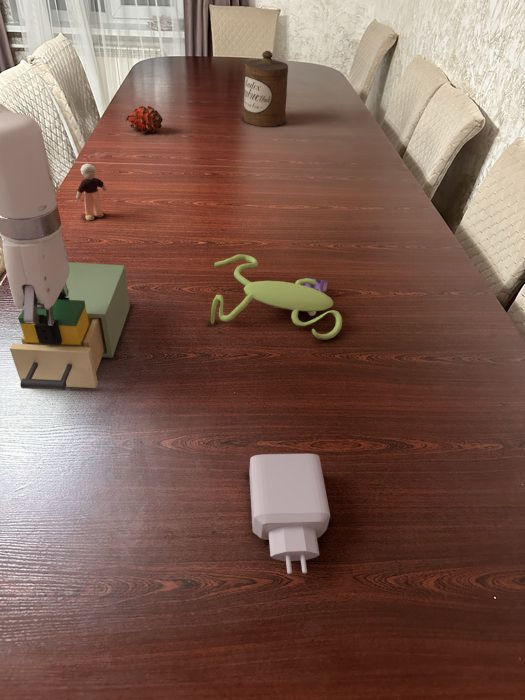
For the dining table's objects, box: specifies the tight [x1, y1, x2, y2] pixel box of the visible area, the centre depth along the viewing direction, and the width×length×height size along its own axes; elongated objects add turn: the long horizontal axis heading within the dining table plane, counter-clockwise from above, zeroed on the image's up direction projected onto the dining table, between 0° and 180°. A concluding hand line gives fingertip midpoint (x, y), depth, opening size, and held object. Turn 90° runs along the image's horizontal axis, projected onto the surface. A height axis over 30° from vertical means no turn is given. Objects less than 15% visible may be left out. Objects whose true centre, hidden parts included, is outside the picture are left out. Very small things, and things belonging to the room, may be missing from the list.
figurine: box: [210, 253, 343, 341], centre depth 100 cm, size 18×27×6 cm
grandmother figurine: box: [75, 162, 107, 221], centre depth 121 cm, size 8×4×13 cm, turn 147°
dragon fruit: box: [125, 105, 164, 134], centre depth 169 cm, size 8×8×12 cm
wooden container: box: [243, 50, 289, 127], centre depth 181 cm, size 15×15×22 cm
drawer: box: [9, 317, 106, 391], centre depth 81 cm, size 18×11×7 cm, turn 0°
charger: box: [248, 453, 331, 575], centre depth 64 cm, size 5×9×15 cm
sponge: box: [17, 299, 89, 345], centre depth 77 cm, size 8×5×4 cm, turn 90°
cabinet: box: [66, 261, 131, 359], centre depth 90 cm, size 15×13×9 cm
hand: (56, 329), depth 78 cm, fingers closed on sponge, 5 cm apart
